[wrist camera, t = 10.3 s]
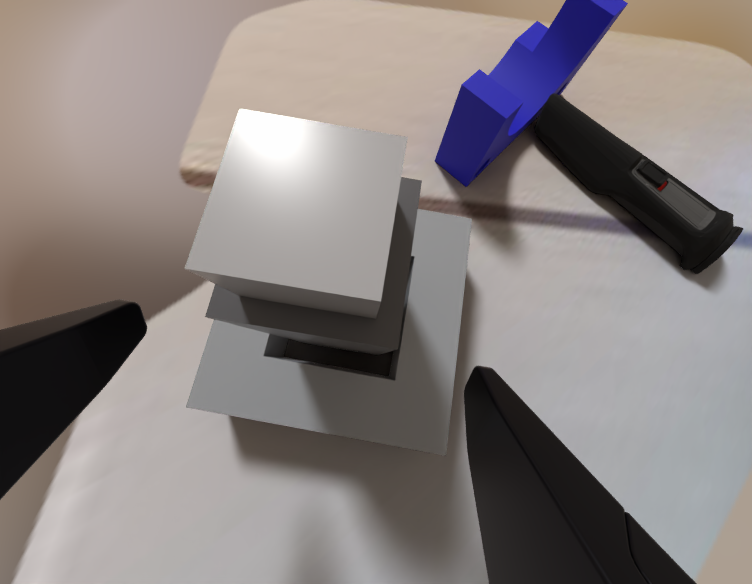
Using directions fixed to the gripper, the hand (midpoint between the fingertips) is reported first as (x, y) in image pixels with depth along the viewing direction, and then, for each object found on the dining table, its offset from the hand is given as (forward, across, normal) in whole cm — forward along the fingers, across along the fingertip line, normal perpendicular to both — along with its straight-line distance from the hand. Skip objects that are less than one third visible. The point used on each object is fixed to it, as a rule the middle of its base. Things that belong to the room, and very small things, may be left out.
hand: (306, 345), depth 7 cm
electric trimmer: (+18, -17, -3) cm, 25 cm away
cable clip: (+21, -8, -7) cm, 23 cm away
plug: (+9, 0, +5) cm, 10 cm away
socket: (+9, 0, +5) cm, 10 cm away
